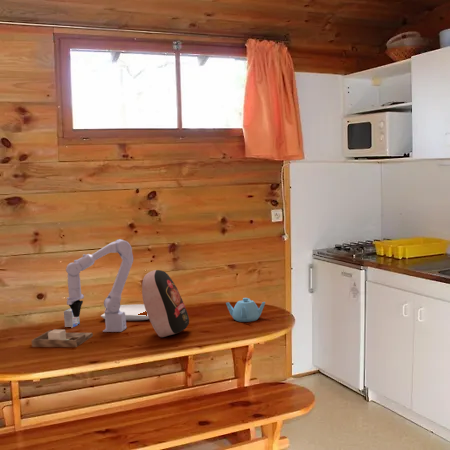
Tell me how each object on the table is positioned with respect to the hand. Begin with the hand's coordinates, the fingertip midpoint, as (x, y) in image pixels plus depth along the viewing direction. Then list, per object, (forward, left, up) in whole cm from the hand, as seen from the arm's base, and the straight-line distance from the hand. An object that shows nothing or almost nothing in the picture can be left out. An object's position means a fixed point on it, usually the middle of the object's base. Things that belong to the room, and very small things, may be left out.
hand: (76, 316), depth 275 cm
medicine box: (+11, -17, -9) cm, 22 cm away
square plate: (-14, -39, -10) cm, 43 cm away
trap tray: (+2, +11, -9) cm, 14 cm away
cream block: (+3, +16, -7) cm, 18 cm away
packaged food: (-43, -1, -9) cm, 44 cm away
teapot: (-76, -30, -9) cm, 83 cm away
